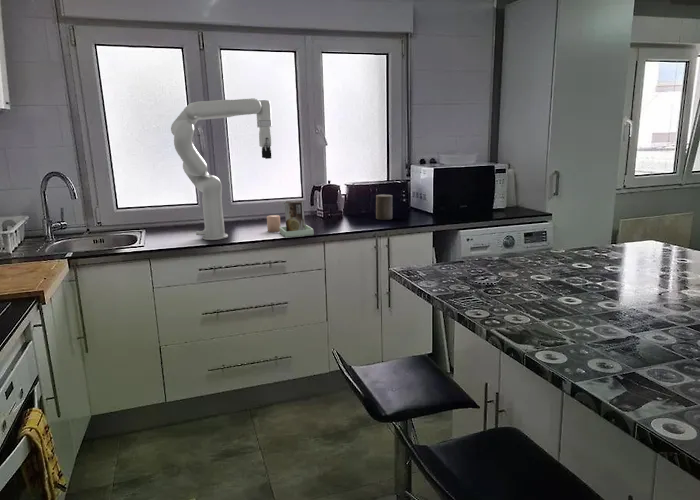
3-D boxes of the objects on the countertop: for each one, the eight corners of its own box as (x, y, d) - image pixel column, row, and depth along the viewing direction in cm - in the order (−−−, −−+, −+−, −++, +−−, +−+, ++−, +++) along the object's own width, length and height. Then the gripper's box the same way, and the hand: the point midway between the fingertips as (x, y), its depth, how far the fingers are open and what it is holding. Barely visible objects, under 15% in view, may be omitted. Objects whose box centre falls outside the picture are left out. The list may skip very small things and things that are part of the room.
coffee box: (305, 231, 266) (304, 200, 262) (303, 233, 260) (302, 202, 256) (288, 231, 267) (286, 200, 263) (286, 234, 260) (284, 202, 257)
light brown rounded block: (268, 232, 269) (267, 217, 267) (266, 230, 275) (265, 215, 274) (282, 231, 271) (281, 216, 269) (279, 229, 278) (278, 214, 276)
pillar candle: (378, 220, 295) (378, 194, 292) (374, 217, 304) (373, 192, 301) (394, 219, 298) (394, 193, 294) (389, 216, 307) (389, 191, 303)
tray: (285, 237, 254) (285, 231, 253) (279, 232, 268) (279, 227, 267) (313, 235, 258) (313, 229, 258) (306, 230, 272) (306, 224, 271)
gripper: (254, 125, 270) (257, 157, 274) (259, 124, 254) (262, 159, 258) (268, 124, 272) (271, 157, 276) (274, 124, 256) (276, 158, 260)
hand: (266, 158), depth 267 cm, fingers open, 9 cm apart
